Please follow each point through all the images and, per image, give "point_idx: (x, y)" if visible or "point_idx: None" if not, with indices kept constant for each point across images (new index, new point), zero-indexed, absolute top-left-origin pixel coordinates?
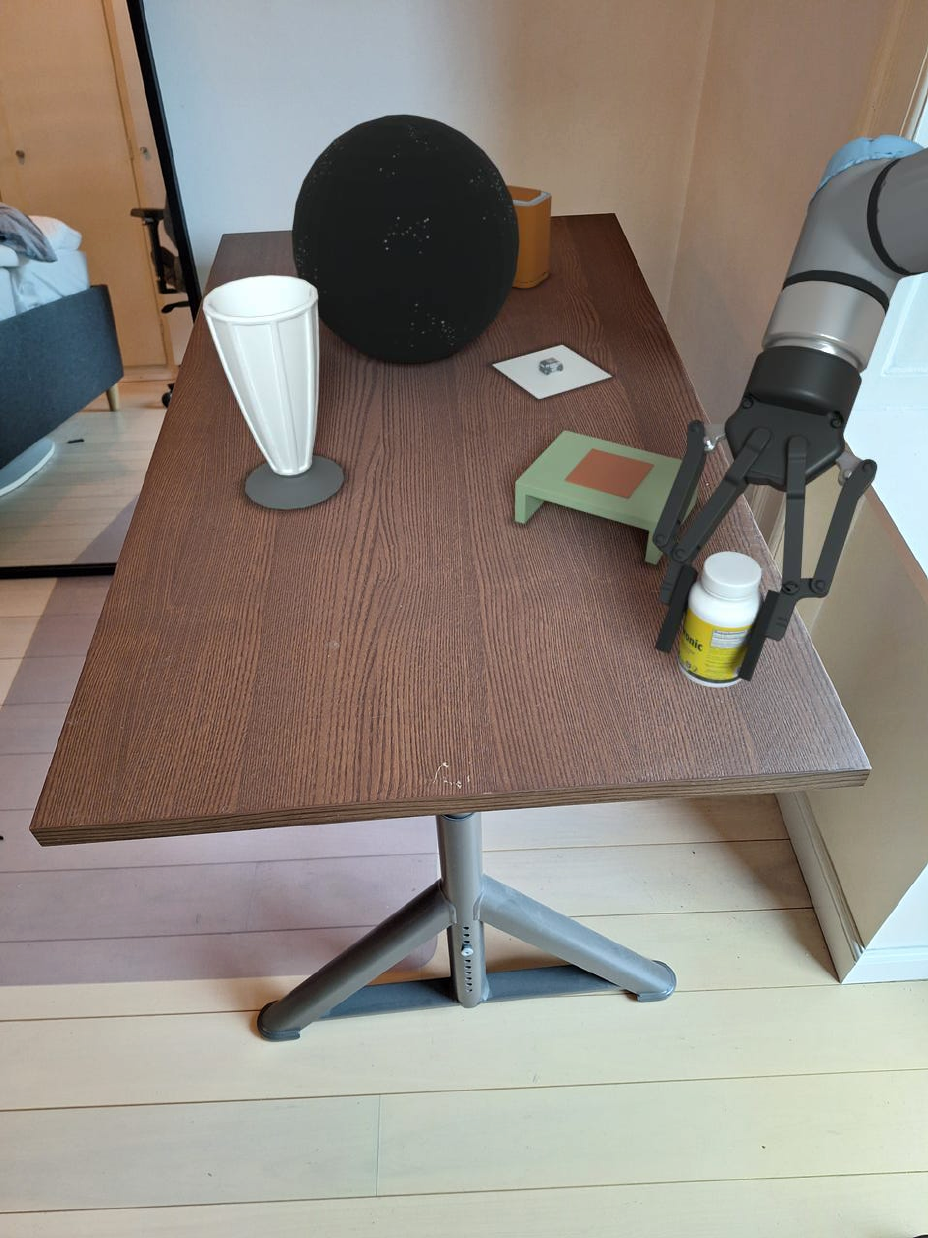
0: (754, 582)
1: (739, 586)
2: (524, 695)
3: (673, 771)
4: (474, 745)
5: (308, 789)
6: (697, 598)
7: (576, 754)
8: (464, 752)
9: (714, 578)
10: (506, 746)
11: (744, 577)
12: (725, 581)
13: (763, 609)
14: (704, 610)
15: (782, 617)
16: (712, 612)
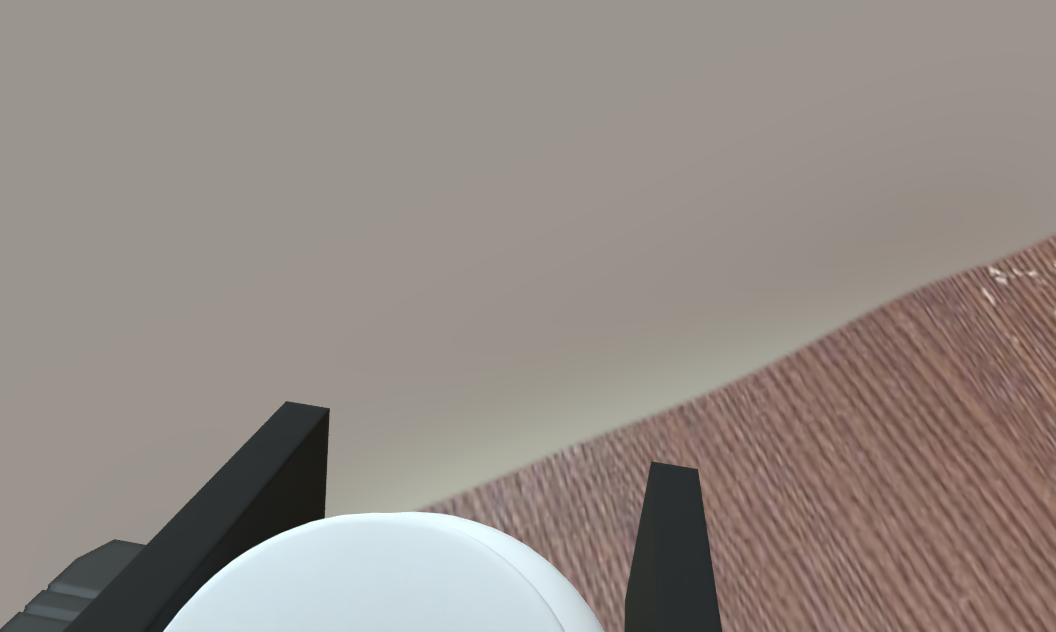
0: (178, 612)
1: (296, 531)
2: (1024, 628)
3: (513, 482)
4: (1039, 393)
5: None
6: (573, 624)
7: (776, 453)
8: (1047, 364)
9: (486, 557)
10: (961, 417)
11: None
12: (401, 544)
13: (157, 596)
14: (514, 543)
15: (52, 620)
16: (467, 531)
